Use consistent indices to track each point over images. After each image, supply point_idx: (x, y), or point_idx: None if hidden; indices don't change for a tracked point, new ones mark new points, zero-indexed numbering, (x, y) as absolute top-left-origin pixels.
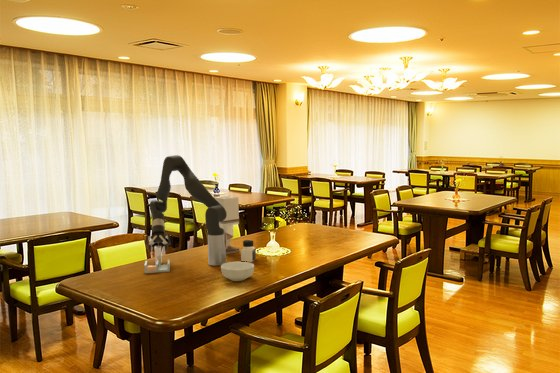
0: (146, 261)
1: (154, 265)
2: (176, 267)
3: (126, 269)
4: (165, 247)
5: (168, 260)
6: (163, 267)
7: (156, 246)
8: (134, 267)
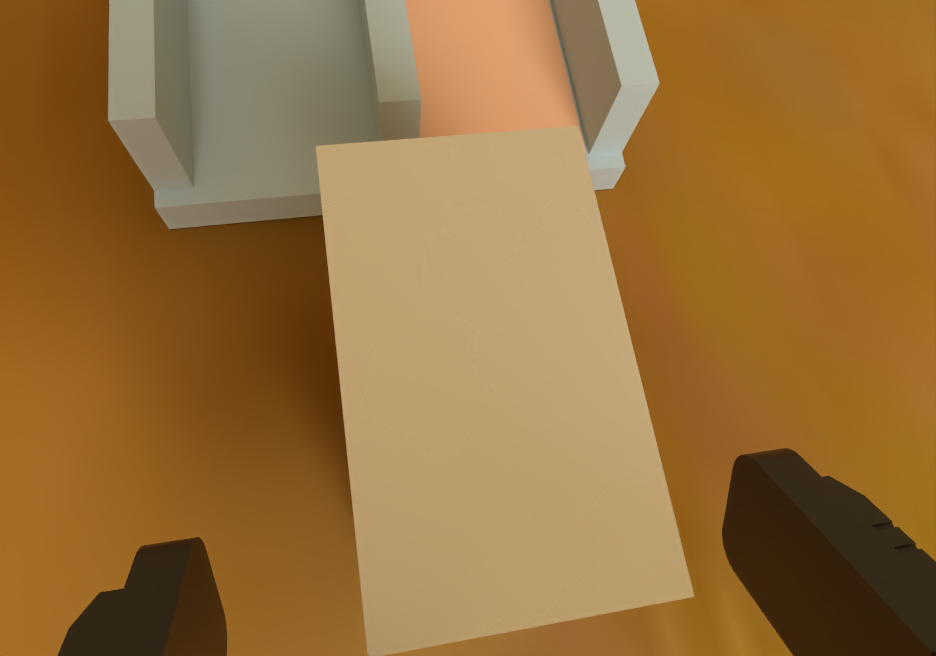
0: (617, 22)
1: None
2: (34, 138)
3: (901, 149)
4: (151, 615)
5: (134, 19)
6: (267, 12)
7: (563, 405)
8: (824, 247)
